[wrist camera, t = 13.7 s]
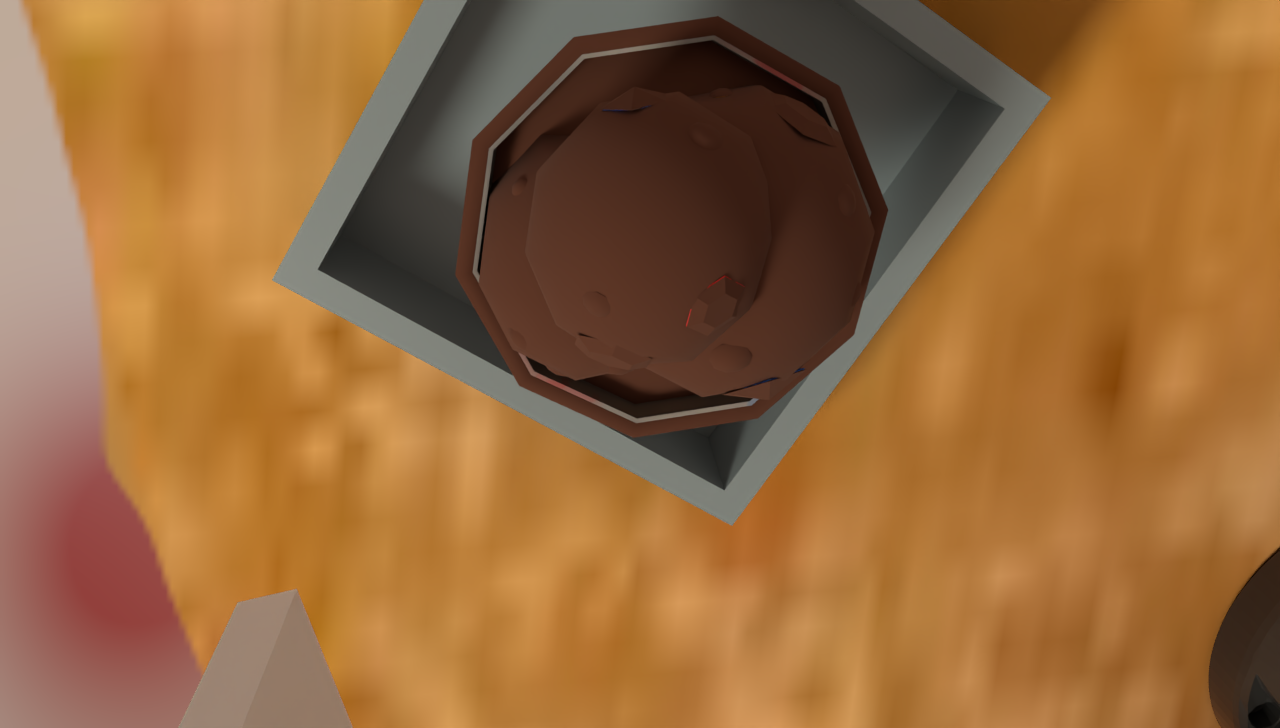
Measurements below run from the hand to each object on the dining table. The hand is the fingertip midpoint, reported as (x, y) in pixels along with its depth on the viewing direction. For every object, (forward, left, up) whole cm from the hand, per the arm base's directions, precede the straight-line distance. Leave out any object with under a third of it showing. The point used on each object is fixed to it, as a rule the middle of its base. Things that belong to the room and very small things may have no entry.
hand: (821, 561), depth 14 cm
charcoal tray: (0, 0, -25) cm, 25 cm away
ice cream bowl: (0, 0, -24) cm, 24 cm away
